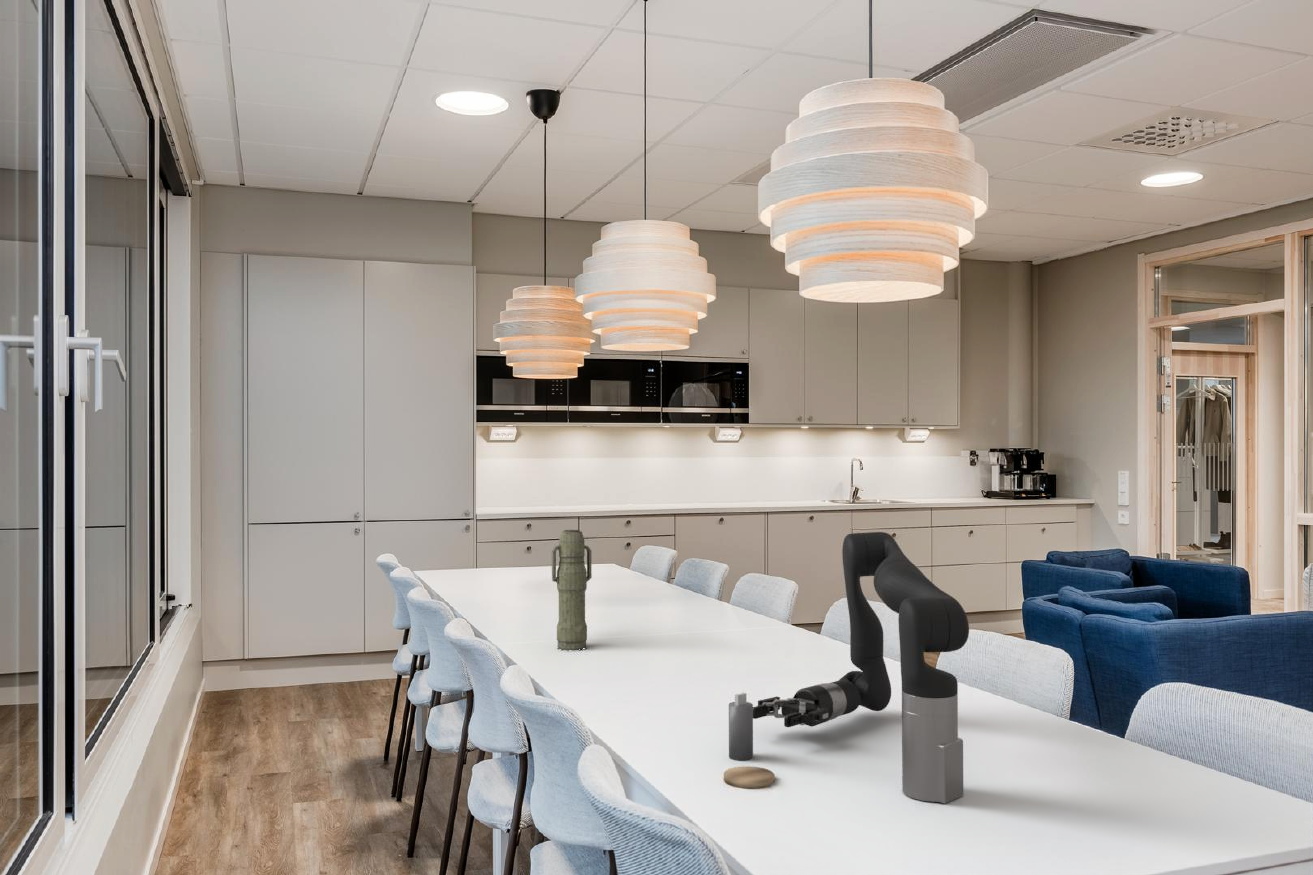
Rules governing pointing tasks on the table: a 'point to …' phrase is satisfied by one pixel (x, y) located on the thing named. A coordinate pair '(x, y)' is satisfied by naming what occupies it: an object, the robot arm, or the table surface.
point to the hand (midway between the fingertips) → (768, 717)
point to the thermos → (571, 589)
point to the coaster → (749, 777)
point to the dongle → (740, 729)
